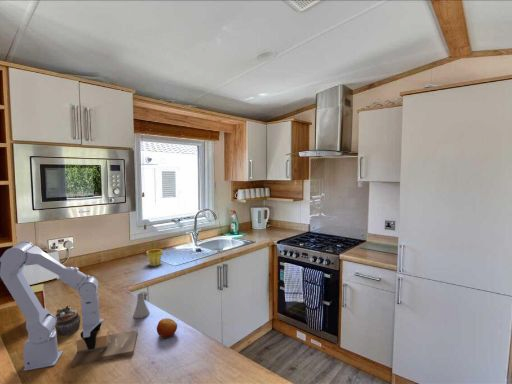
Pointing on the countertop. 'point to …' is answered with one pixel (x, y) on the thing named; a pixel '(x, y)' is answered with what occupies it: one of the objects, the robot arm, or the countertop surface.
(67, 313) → the cupcake
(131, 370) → the countertop surface
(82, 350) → the block
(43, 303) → the baking soda box
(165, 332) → the fruit
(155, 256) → the plant pot
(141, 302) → the flask
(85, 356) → the board
